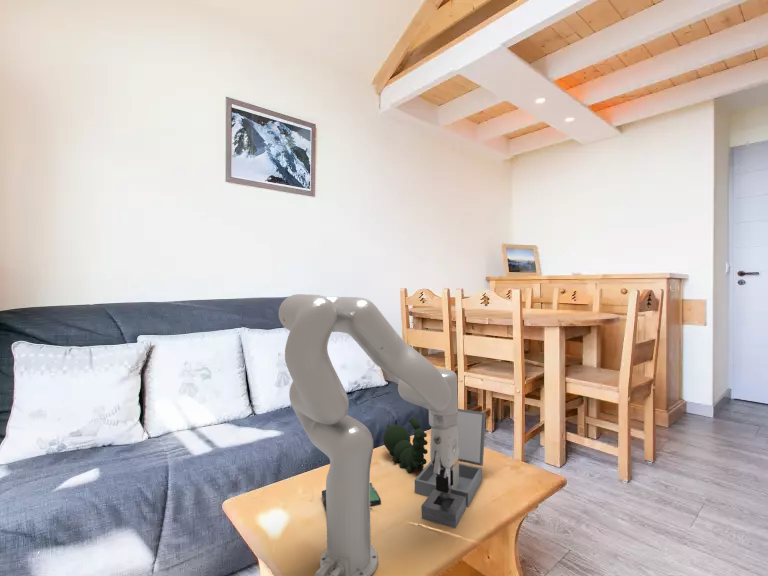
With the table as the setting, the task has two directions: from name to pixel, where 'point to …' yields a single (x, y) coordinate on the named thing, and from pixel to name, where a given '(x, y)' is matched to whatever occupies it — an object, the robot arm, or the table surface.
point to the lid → (471, 436)
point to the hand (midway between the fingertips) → (444, 487)
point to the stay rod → (448, 495)
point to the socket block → (444, 509)
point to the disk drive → (373, 497)
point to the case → (467, 488)
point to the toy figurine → (406, 445)
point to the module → (455, 474)
